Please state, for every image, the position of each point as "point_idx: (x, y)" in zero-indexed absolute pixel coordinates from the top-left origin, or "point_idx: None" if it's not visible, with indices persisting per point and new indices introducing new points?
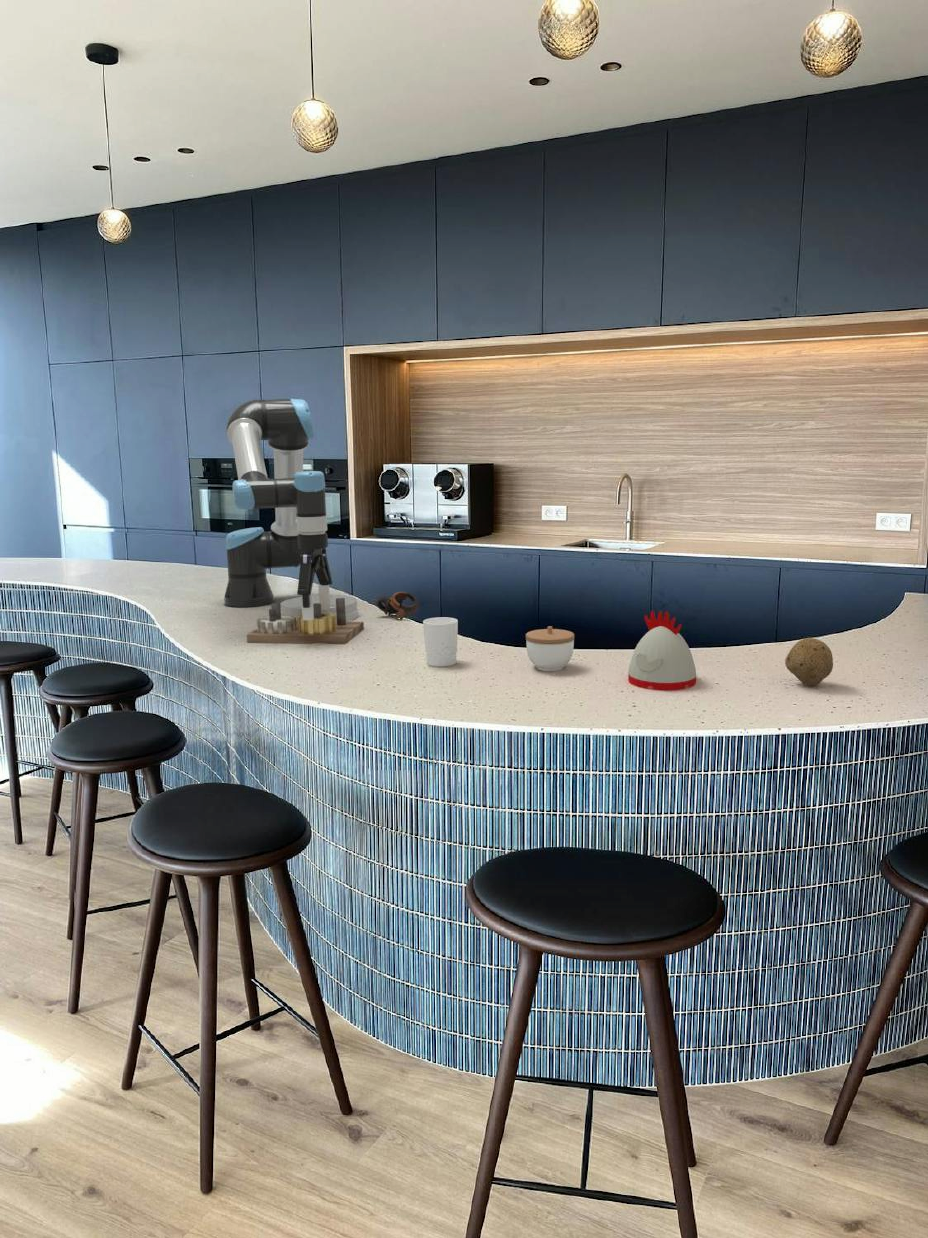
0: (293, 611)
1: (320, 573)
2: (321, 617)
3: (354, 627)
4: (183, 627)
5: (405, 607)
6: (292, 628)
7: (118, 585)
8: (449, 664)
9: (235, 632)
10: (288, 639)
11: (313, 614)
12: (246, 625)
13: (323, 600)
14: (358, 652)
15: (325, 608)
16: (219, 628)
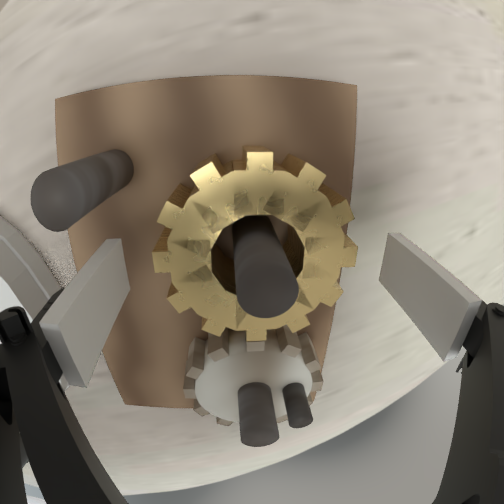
0: (65, 379)
1: (98, 469)
2: (311, 218)
3: (171, 84)
4: (183, 480)
5: None
6: None
7: (39, 498)
8: None
9: (202, 432)
10: None
11: (403, 243)
12: (130, 429)
13: (110, 294)
14: (437, 41)
15: (122, 262)
16: (174, 454)
